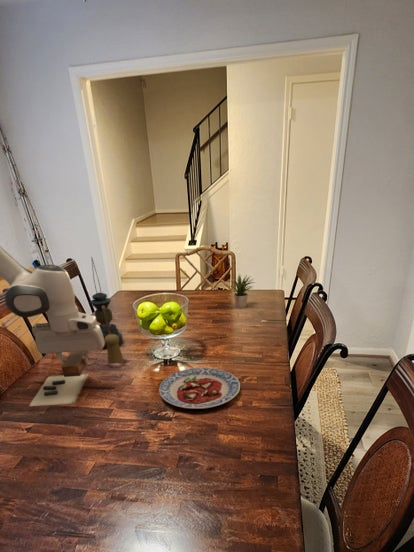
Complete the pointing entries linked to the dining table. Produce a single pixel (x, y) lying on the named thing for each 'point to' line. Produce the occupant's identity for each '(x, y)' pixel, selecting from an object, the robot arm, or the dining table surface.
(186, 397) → the ceramic plate
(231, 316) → the dining table surface
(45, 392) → the mark
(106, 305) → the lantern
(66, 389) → the board
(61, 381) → the mark
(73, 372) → the eraser
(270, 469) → the dining table surface
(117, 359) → the cork
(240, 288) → the house plant
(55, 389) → the mark
